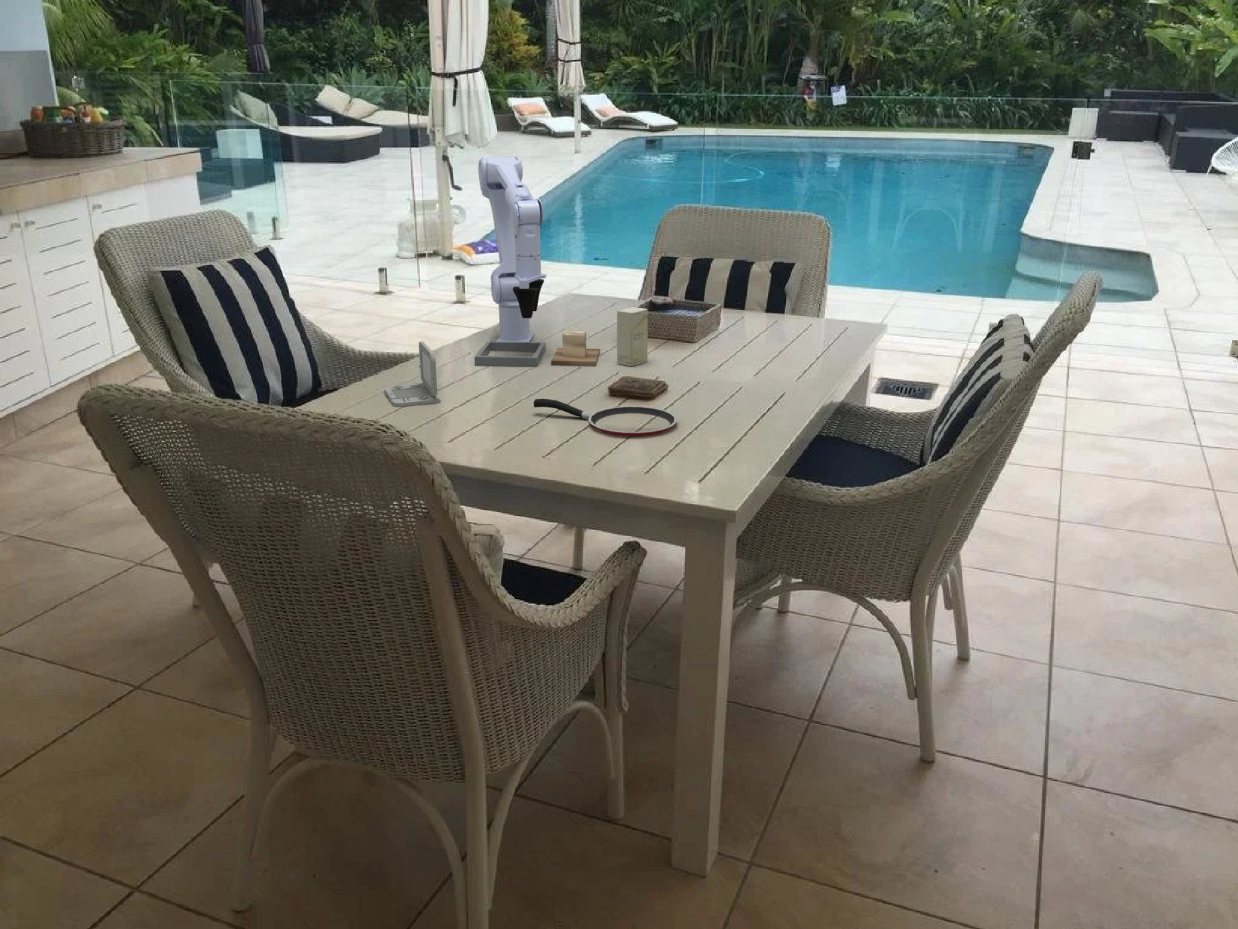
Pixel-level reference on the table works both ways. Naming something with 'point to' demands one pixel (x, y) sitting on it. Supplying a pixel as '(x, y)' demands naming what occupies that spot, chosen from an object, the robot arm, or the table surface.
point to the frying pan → (608, 412)
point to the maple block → (574, 343)
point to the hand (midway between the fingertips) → (529, 314)
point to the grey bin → (485, 360)
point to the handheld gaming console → (417, 391)
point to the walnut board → (576, 358)
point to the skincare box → (632, 336)
